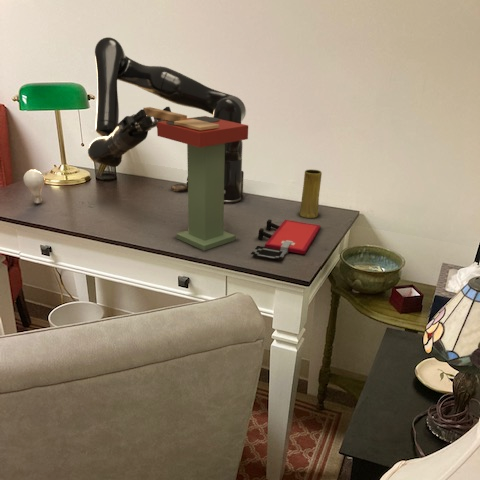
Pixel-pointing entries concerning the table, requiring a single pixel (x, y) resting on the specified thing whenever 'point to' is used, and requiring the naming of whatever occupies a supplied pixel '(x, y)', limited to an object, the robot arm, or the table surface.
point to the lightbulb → (34, 184)
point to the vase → (310, 194)
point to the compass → (180, 187)
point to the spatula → (180, 119)
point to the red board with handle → (286, 239)
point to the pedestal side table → (205, 177)
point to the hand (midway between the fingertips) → (157, 111)
